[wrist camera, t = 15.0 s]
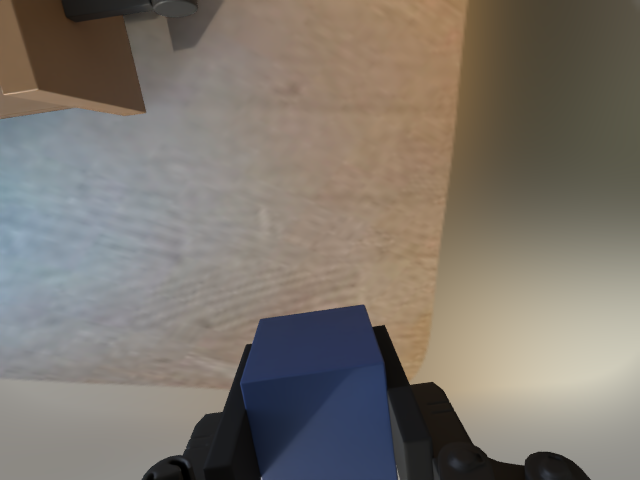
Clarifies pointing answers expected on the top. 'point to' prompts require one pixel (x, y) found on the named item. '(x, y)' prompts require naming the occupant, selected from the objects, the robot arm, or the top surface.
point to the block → (319, 398)
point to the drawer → (72, 55)
